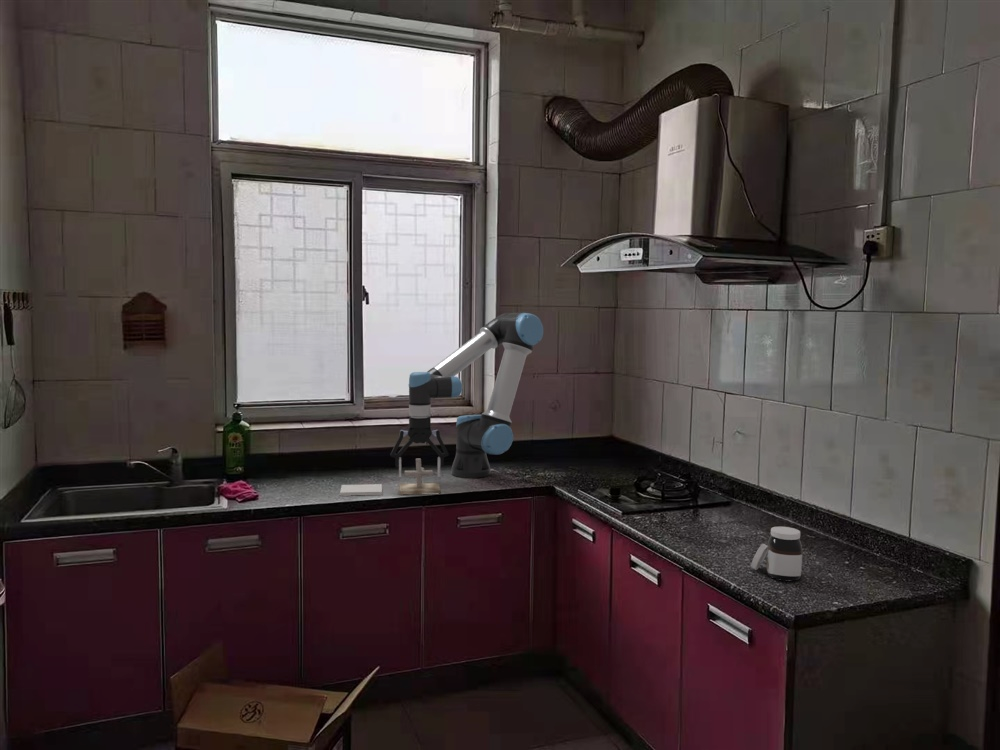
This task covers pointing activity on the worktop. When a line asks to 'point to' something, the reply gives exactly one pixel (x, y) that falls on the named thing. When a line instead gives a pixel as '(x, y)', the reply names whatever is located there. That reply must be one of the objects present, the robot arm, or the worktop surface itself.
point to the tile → (361, 489)
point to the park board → (415, 490)
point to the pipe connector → (419, 472)
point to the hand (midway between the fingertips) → (419, 476)
